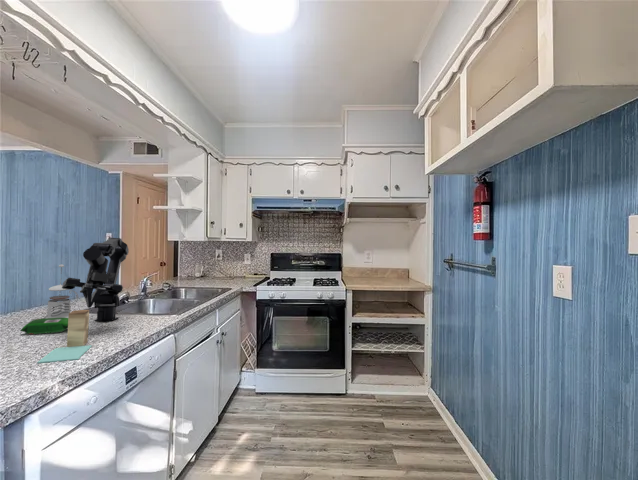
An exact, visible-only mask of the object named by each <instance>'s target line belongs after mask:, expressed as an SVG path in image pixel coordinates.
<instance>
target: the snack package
mask: <svg viewBox="0 0 638 480" xmlns="http://www.w3.org/2000/svg"><path fill="white" fill-rule="evenodd" d="M66 330H68V318H46V317H44V318H36V319H32V320H31V321H29V322H28V323H26V324H25V325H24V326H23V327H22V328H21V329H20V332H24V333H26V334H27V335H41V334H42V335H43V334H44V335H45V334H56V333H57V334H58V333H62V332H64V331H66Z"/></svg>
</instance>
